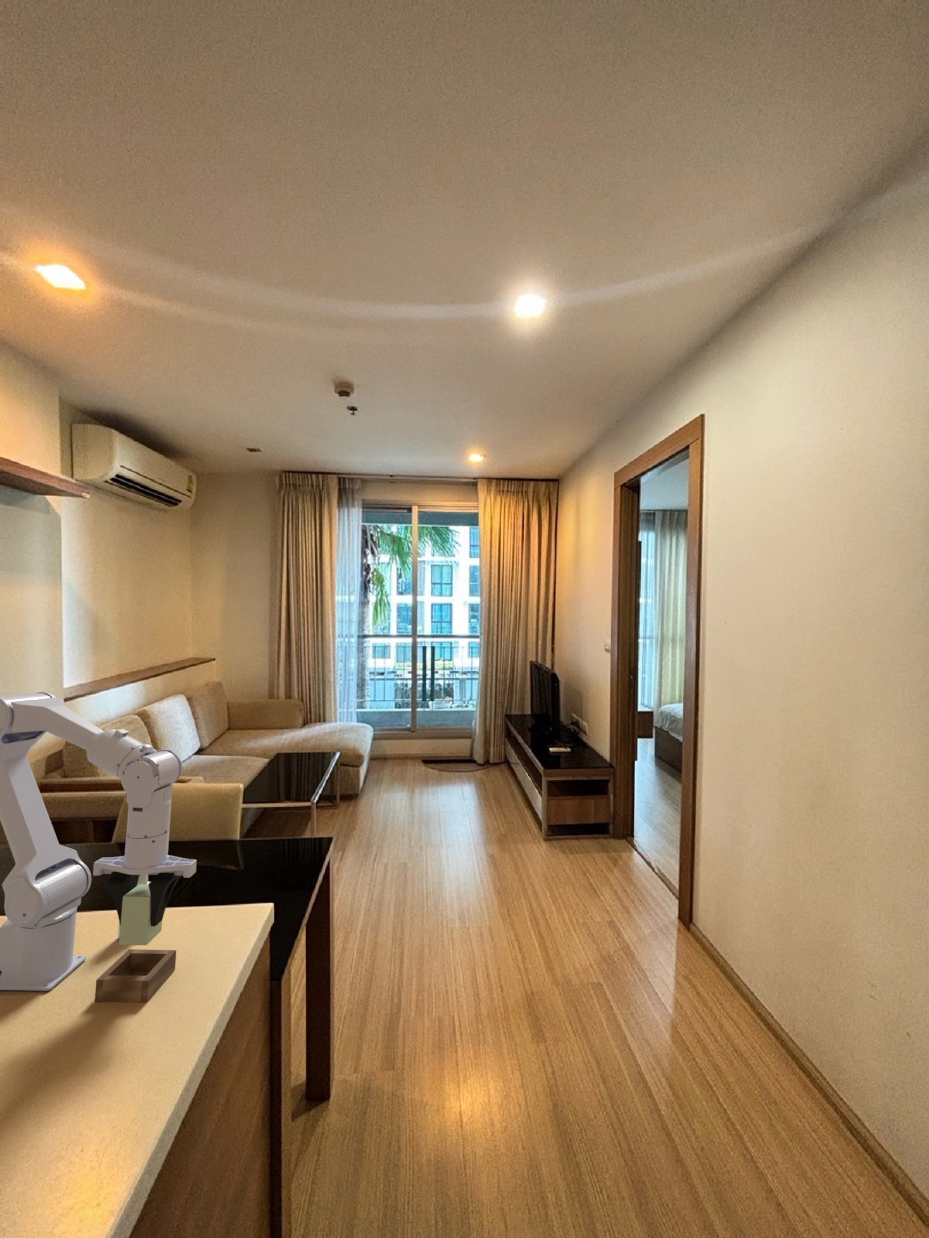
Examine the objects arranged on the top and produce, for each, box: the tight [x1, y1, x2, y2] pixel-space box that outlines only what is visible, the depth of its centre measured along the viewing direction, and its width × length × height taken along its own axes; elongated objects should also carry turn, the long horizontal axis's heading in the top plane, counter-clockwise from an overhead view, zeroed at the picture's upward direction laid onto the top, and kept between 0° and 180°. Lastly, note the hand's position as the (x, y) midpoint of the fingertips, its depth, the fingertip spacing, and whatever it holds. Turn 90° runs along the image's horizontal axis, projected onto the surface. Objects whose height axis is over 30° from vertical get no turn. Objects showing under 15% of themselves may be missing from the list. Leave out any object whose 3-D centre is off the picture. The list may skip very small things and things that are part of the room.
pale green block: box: [118, 884, 163, 946], centre depth 78 cm, size 4×4×7 cm
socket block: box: [94, 948, 177, 1003], centre depth 77 cm, size 8×8×3 cm
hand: (141, 922), depth 78 cm, fingers closed on pale green block, 4 cm apart
